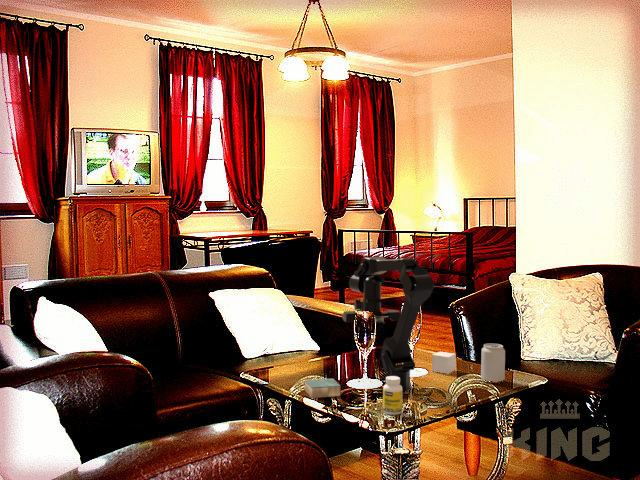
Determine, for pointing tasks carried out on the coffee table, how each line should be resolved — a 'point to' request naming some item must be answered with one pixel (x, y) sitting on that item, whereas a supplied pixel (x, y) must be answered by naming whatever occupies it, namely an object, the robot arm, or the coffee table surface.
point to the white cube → (443, 362)
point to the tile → (322, 388)
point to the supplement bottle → (392, 396)
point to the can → (493, 362)
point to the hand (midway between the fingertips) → (371, 341)
